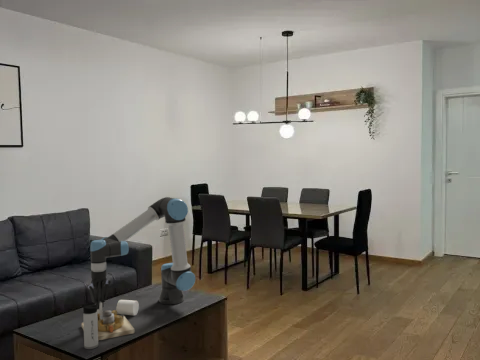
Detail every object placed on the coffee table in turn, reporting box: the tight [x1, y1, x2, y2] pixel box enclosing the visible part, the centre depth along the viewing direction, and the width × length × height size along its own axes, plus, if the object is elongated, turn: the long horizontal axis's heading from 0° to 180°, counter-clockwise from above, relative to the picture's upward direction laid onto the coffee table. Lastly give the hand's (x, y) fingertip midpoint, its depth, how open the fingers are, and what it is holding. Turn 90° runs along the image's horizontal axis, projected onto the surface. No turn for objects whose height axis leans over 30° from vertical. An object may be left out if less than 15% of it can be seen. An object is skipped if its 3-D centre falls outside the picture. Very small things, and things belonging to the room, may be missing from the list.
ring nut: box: [97, 309, 124, 332], centre depth 224 cm, size 16×18×5 cm
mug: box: [115, 299, 140, 316], centre depth 249 cm, size 12×10×8 cm
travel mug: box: [82, 303, 99, 350], centre depth 206 cm, size 6×7×20 cm
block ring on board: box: [80, 309, 135, 341], centre depth 225 cm, size 22×22×10 cm
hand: (99, 314), depth 229 cm, fingers closed
